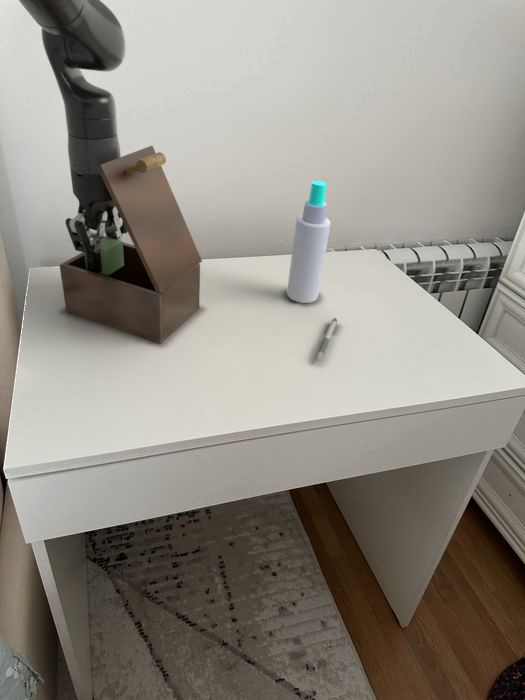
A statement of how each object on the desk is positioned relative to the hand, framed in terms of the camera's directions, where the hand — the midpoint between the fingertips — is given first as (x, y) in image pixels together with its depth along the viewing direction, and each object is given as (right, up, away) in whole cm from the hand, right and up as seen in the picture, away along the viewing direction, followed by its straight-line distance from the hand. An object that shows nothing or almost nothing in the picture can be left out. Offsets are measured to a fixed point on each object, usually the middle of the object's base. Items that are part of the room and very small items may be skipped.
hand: (105, 265), depth 91 cm
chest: (+4, -8, +3) cm, 9 cm away
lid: (+10, +6, -9) cm, 14 cm away
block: (0, 0, 0) cm, 0 cm away
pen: (+38, -13, 0) cm, 40 cm away
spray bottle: (+35, -4, +12) cm, 37 cm away
